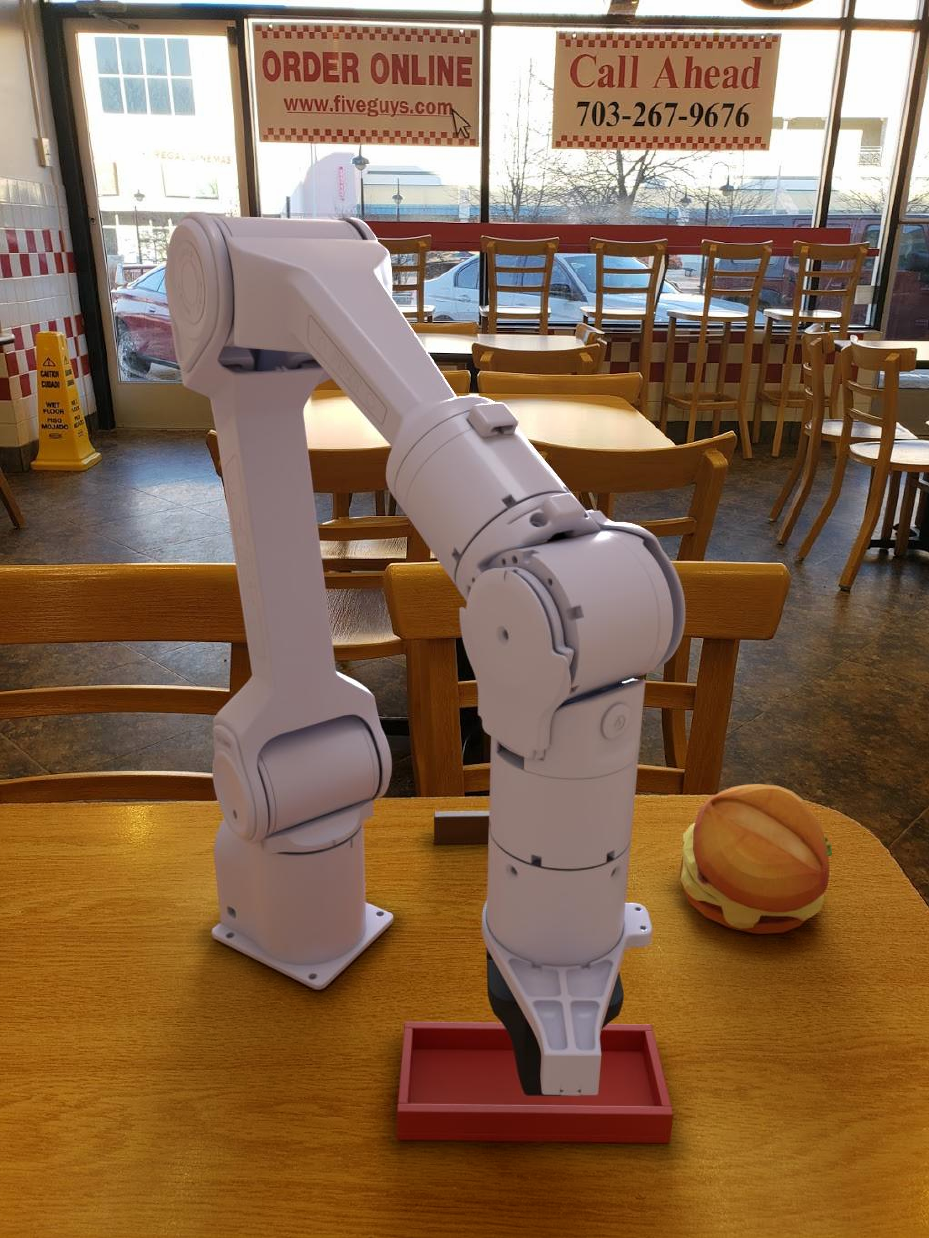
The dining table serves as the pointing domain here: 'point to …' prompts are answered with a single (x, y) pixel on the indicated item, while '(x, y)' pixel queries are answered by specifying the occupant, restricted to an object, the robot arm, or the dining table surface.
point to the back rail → (461, 827)
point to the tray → (495, 1102)
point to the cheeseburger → (756, 860)
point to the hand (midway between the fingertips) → (545, 1083)
